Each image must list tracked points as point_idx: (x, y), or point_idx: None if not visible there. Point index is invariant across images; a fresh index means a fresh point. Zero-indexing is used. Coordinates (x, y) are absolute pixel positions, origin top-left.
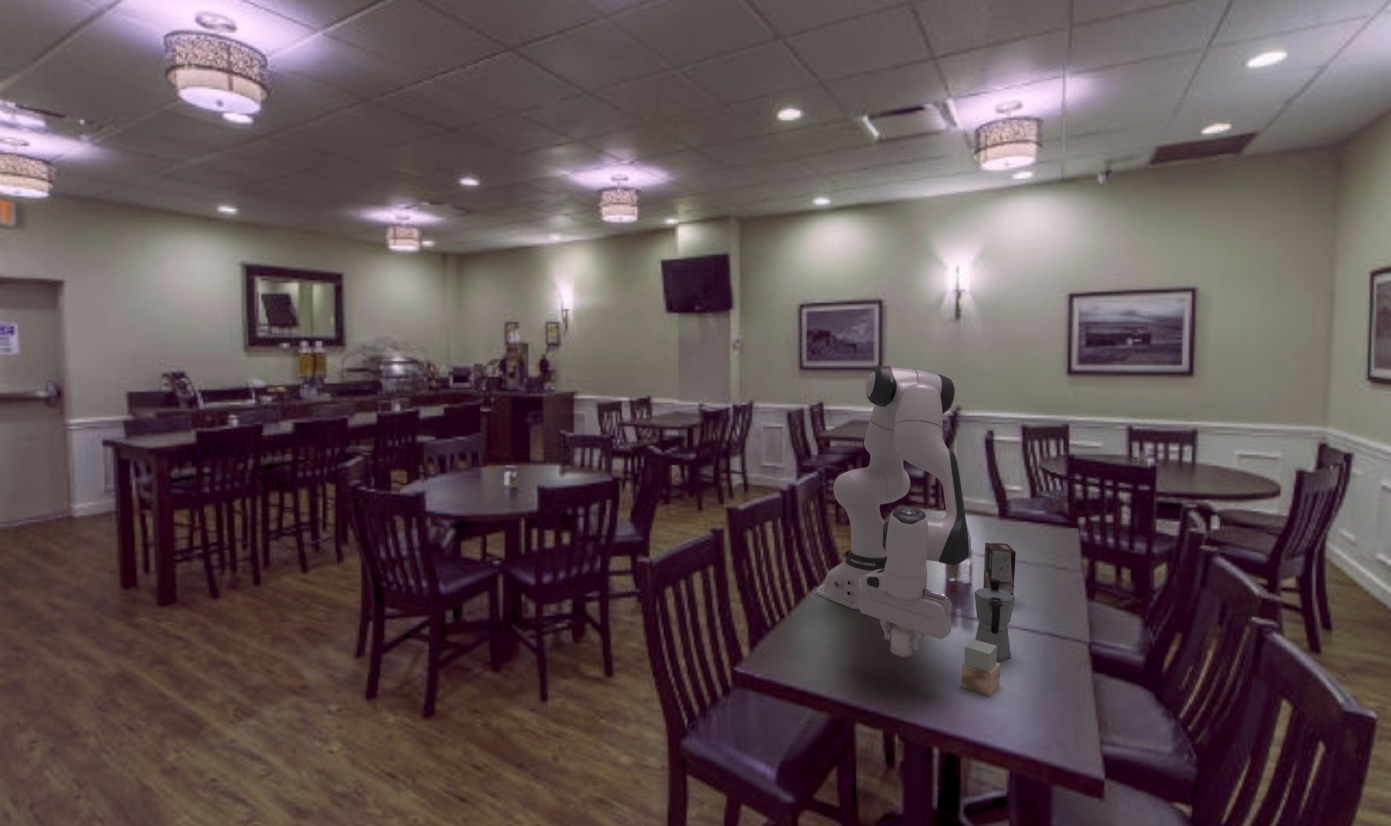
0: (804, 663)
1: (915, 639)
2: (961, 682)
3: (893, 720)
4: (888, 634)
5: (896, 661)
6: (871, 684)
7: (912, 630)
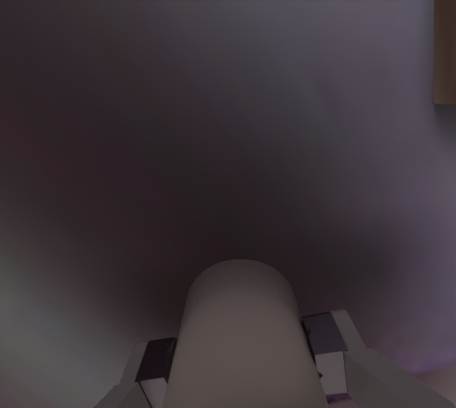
0: (35, 370)
1: (333, 359)
2: (445, 103)
3: None
4: None
5: (142, 147)
6: None
7: (304, 399)
